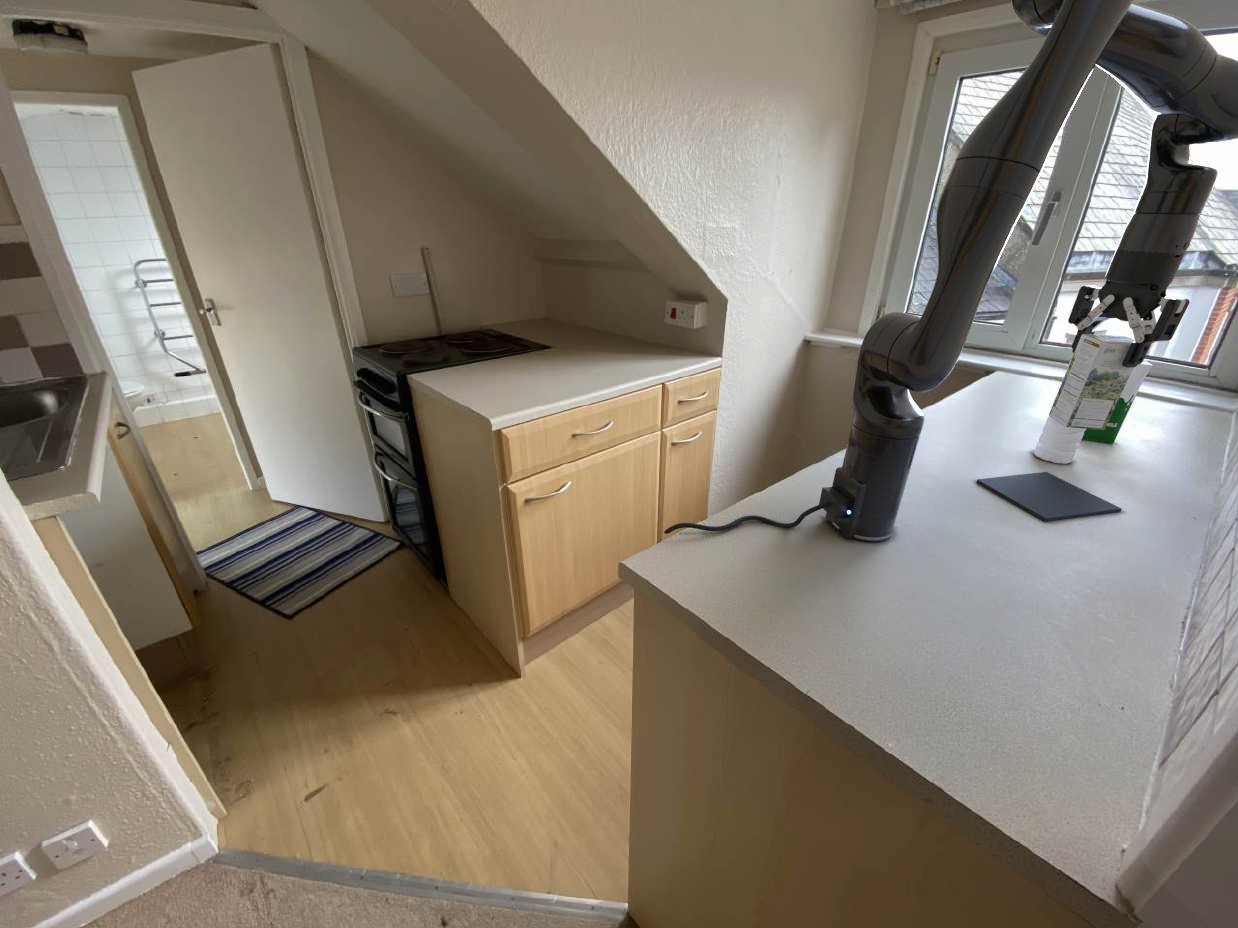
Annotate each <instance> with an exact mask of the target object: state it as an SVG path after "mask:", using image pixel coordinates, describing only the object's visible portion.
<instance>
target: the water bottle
mask: <svg viewBox="0 0 1238 928" xmlns="http://www.w3.org/2000/svg"><path fill="white" fill-rule="evenodd" d="M1076 334H1077V331H1076V332H1075V331H1066V332H1065V335H1064V338H1065V339H1069V340H1075V336H1076ZM1071 360H1072V358H1071V359H1070V361H1069V363H1068V366H1067V369H1068V367H1069V364H1070V362H1071ZM1067 369H1066V370H1067ZM1065 374H1066V372H1065ZM1065 374H1064V376H1063V378H1064V377H1065ZM1062 382H1063V380H1061V383H1062ZM1060 387H1061V385H1060ZM1060 387H1059V388H1058V390H1059V389H1060ZM1057 394H1058V392H1057V393H1056V395H1057ZM1055 399H1056V397H1055V398H1054V401H1055ZM1054 401H1053V402H1054ZM1050 411H1051V409H1050V410H1049V412H1050ZM1085 430H1086V429H1082V428H1071V427H1065V426H1064V425H1062V424H1061V423H1059V422H1057V421H1056V420H1054V419H1053V418H1051V417H1050V416H1049V415H1048V416H1047V418H1046V420H1045V424H1044V426H1043V427H1042V430H1041V433H1040V435H1039V438H1038V442H1036V445H1035V448H1034V450H1033V454H1034V455H1035V456H1036V457H1037V458H1039V459H1041V460H1043V461H1046V462H1051V463H1054V464H1066V465H1067V464H1070V463H1072V462H1073V460H1074V458H1075V456H1076V453H1077V450H1078V449H1079V446H1080V444H1081V441H1082V440H1083V439H1082V438H1083V435H1084V431H1085Z"/></svg>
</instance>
